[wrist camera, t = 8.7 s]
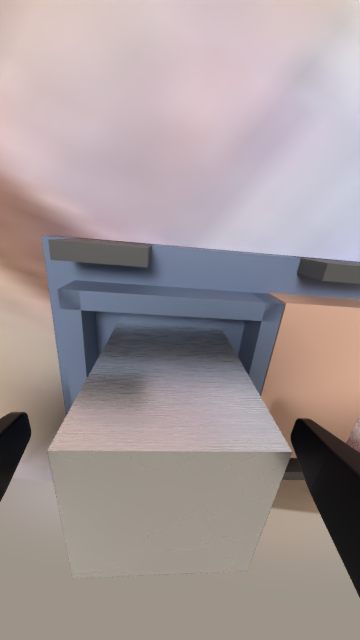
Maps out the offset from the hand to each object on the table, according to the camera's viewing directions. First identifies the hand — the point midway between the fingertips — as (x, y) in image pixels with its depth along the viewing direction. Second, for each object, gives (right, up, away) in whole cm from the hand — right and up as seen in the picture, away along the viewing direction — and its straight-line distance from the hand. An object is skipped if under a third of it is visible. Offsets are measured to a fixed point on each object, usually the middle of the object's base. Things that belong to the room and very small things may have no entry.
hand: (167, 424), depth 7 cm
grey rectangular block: (0, +1, +3) cm, 3 cm away
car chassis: (+2, +1, +4) cm, 5 cm away
